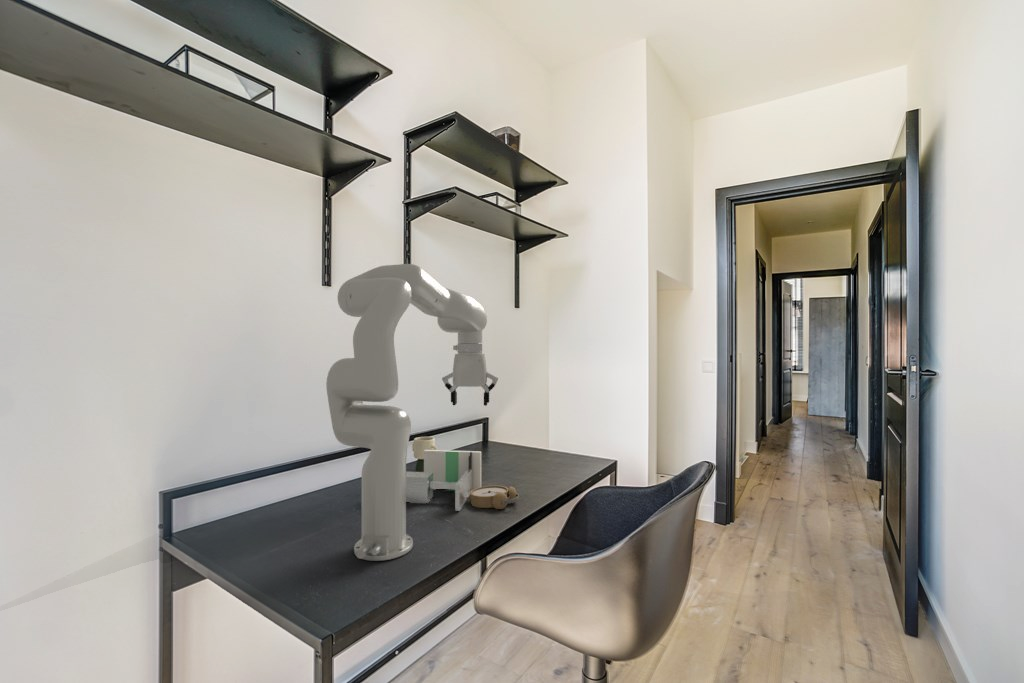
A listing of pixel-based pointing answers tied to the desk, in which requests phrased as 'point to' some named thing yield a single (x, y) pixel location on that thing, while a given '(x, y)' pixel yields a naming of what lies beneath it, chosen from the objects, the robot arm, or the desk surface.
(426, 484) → the block
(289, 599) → the desk surface
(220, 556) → the desk surface
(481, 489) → the alarm clock
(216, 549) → the desk surface
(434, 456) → the board
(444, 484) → the grey t-shaped piece
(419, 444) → the character mug
